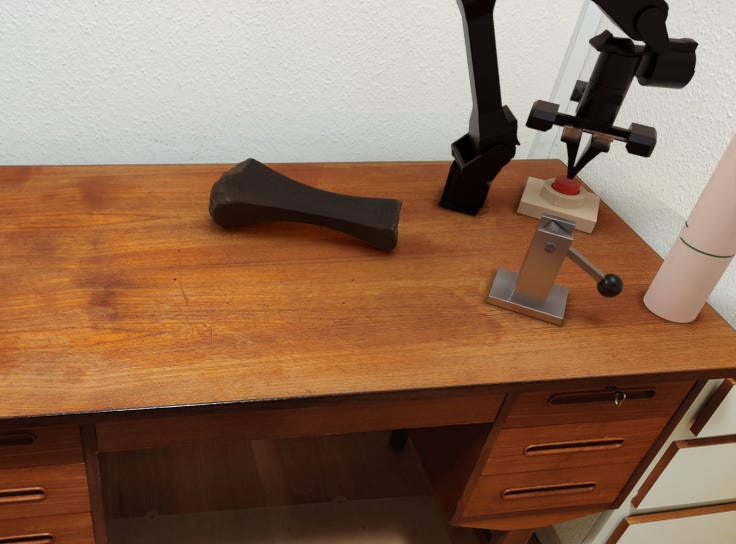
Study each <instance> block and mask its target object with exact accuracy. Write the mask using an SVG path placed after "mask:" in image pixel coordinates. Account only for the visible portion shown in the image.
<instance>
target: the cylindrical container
mask: <svg viewBox="0 0 736 544" xmlns="http://www.w3.org/2000/svg"><path fill="white" fill-rule="evenodd" d="M735 257H736V131H735V132H734V134H733V136H732V137H731V139H730V141H729V142H728V145H727V147H726V148H725V150H724V152H723V154H722V156H721V157H720V159H719V161H718V162H717V164H716V166H715V168H714V170H713V172H712V174H711V176H710V177H709V179H708V181H707V183H706V185H705V186H704V188H703V190H702V191H701V193H700V195H699V197H698V199H697V200H696V203H695V204H694V206H693V208H692V210H691V212H690V213H689V215H688V217H687V218H686V220H685V222H684V224H683V226H682V228H681V229H680V231H679V233H678V235H677V237H676V238H675V240H674V242H673V244H672V246H671V248H670V250H669V251H668V253H667V255H666V256H665V258H664V259H663V262H662V264H661V265H660V268H659V269H658V271H657V273H656V274H655V276H654V278H653V280H652V281H651V283H650V285H649V287H648V289H647V291H646V292H645V294H644V297H643V303H644V305H645V307H646V308H647V309H648V310H649V311H650V312H651V313H653V314H654V315H656V316H658V317H660V318H662V319H663V320H667V321H669V322H672V323H673V322H674V323H681V324H688V323H692V322H694V321H695V320H696V318H697V317H698V315H699V314H700V312H701V310H702V309H703V307H704V306H705V304H706V302H707V301H708V300H709V298H710V296H711V295H712V293H713V291H714V290H715V288H716V286H717V285H718V283H719V282H720V281H721V278H722V277H723V275H724V274H725V272H726V270H727V269H728V267H729V266H730V264H731V263H732V261H733V259H734V258H735Z"/></svg>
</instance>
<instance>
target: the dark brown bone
mask: <svg viewBox="0 0 736 544" xmlns="http://www.w3.org/2000/svg"><path fill="white" fill-rule="evenodd" d="M209 193H210V195H209V204H208V214H209V216H210V217H211V219H212V220H213V221H214V222H215V224H216V225H218V226H220V227H222V228H223V227H224V228H225V227H237V226H243V225H250V224H251V225H252V224H261V223H276V222H277V223H294V224H305V225H311V226H315V227H319V228H324V229H328V230H332V231H335V232H339V233H341V234H345V235H348V236H349V237H352V238H356V239H357V240H360V241H362V242H364V243H367V244H369V245H371V246H373V247H375V248H377V249H379V250H382V251H393V250H395V248H396V246H397V245H398V240H399V239H398V237H399V229H398V227H399V223H400V218H401V217H400V213H401V209H402V207H403V201H401V199H397V198H386V197H370V196H369V197H368V196H358V195H351V194H343V193H338V192H332V191H328V190H324V189H320V188H317V187H314V186H311V185H309V184H305V183H302V182H301V181H297V180H295V179H293V178H291V177H288V176H286V175H284V174H283V173H280V172H278V171H277V170H275V169H273V168H272V167H270V166H267V165H266V164H264V163H262V162H261V161H259V160H257V159H256V158H253V157H249V158H246V159H245V160H242V161H240V162H239V163H238V164H236V165H234V166H233V167H231V168H230V169H229V170H226V171H225V172H223V173H222V174H221V175H220V177H219V179H217V180H216V181H214V182H213V184H212V186H211V189H210V192H209Z"/></svg>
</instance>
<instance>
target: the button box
mask: <svg viewBox="0 0 736 544" xmlns="http://www.w3.org/2000/svg"><path fill="white" fill-rule="evenodd" d="M555 179H556V177H552V178H549V179H541V178H537V177H533V176H528V179H527V181H526V183H525V187H524V190H523V193H522V195H521V198H520V201H519V204H518V207H517V210H516V214H520V215H524V216H527V217H530V218H534V219H538V220H540V218H541V216H542V213H546V214H550V215H553V216H557V217H561V218H564V219H568V220H571V221H575V222H577V223H576V227H575V229H574V230H577V231H580V232H584V233H588V234H592V233H593V230H594V229H595V226H596V224H597V221H598V213H599V207H600V203H601V195H600V194H597V193H593V192H589V191H587V190H586V188H584V186H582V185H581V186H580V188H579V191H578V193H577V195H575V196H572V195H565V194H561V193H559V192H557V191H555V190H554V189H553V188H552V187H553V184H554V182H555Z"/></svg>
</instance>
